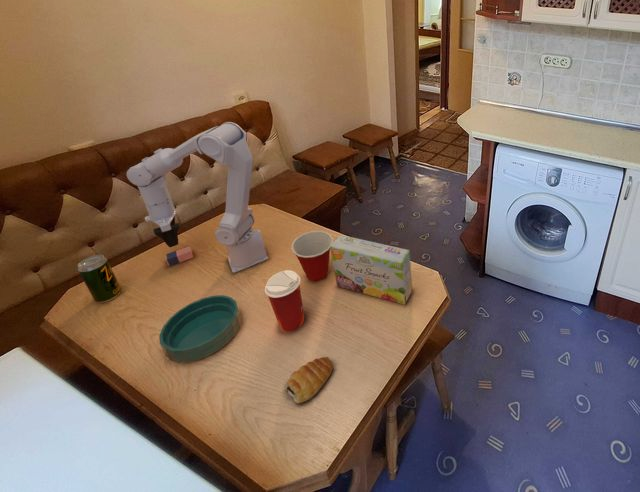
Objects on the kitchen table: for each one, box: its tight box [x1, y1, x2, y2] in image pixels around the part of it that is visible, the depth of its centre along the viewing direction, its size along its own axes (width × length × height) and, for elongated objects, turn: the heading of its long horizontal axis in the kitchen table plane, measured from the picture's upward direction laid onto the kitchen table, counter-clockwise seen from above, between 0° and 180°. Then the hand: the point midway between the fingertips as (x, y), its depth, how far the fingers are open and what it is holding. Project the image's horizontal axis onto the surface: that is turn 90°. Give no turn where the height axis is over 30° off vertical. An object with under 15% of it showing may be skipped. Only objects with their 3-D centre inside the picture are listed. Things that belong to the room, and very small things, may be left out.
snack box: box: [330, 234, 413, 305], centre depth 97 cm, size 21×6×15 cm, turn 74°
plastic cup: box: [290, 230, 334, 283], centre depth 102 cm, size 11×11×12 cm
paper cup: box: [264, 269, 305, 333], centre depth 87 cm, size 8×8×14 cm
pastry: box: [284, 356, 334, 404], centre depth 76 cm, size 9×7×4 cm
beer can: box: [77, 254, 122, 304], centre depth 94 cm, size 5×5×12 cm
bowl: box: [158, 294, 242, 364], centre depth 85 cm, size 15×15×4 cm
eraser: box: [165, 245, 194, 267], centre depth 109 cm, size 6×3×3 cm, turn 131°
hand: (172, 238), depth 106 cm, fingers open, 7 cm apart
